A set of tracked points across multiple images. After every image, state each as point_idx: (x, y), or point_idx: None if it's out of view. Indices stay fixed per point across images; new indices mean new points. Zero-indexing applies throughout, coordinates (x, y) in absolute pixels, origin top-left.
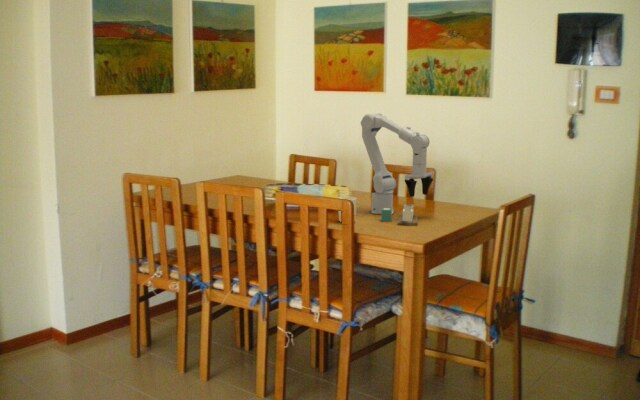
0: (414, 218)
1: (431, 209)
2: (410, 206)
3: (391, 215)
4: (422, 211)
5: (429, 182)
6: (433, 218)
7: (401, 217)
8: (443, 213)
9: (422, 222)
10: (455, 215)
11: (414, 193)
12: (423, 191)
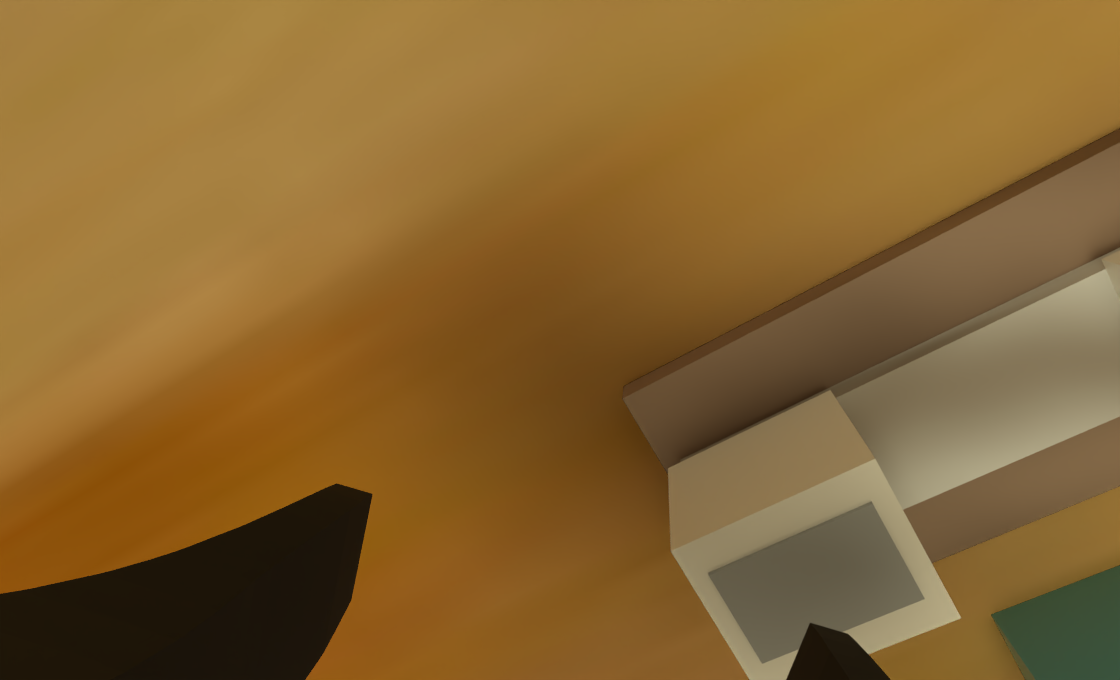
0: (883, 324)
1: (8, 519)
2: (900, 507)
3: (1051, 651)
4: None
5: (91, 649)
6: (505, 176)
7: (927, 522)
8: (90, 253)
9: (908, 147)
10: (66, 21)
11: (842, 666)
12: (322, 627)
